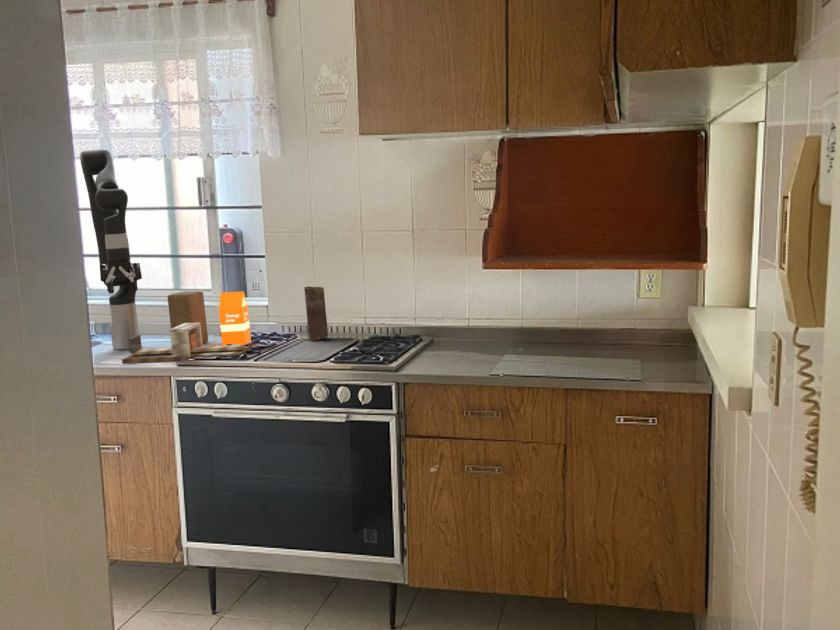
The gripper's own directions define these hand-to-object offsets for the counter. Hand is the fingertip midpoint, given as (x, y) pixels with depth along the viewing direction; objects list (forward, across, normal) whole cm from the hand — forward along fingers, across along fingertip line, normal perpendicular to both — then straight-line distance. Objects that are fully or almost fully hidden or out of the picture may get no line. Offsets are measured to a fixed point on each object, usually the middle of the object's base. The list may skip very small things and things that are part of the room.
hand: (123, 292), depth 281 cm
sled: (+21, +22, 0) cm, 31 cm away
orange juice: (+24, +33, +18) cm, 44 cm away
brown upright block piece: (+24, +63, +24) cm, 71 cm away
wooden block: (+24, +12, +22) cm, 35 cm away
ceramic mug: (+24, +27, +31) cm, 48 cm away
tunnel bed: (+24, +22, 0) cm, 32 cm away
